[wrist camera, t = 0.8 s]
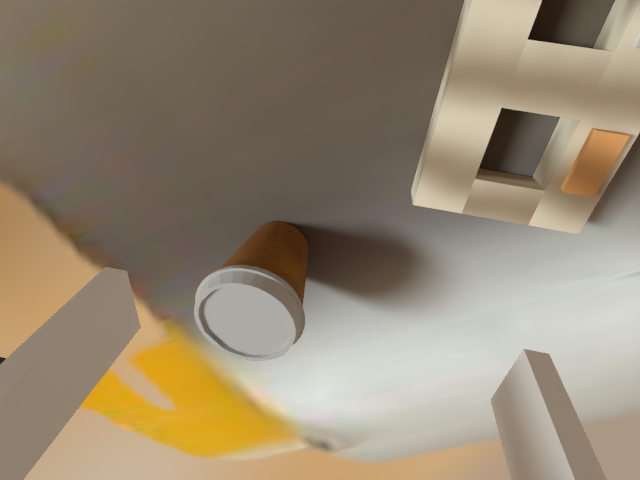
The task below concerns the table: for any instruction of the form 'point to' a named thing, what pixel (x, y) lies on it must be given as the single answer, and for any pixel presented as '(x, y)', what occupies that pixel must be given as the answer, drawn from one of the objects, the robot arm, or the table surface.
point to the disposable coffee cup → (257, 295)
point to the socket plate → (536, 97)
